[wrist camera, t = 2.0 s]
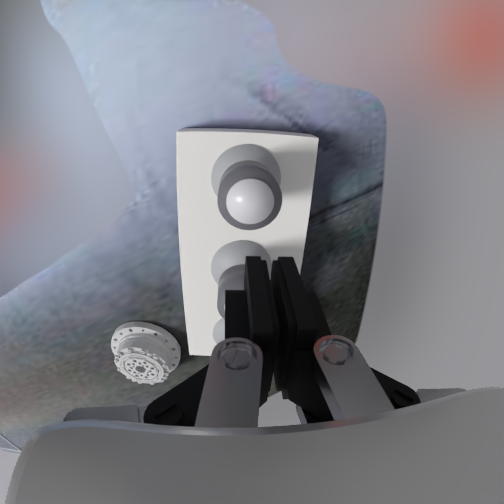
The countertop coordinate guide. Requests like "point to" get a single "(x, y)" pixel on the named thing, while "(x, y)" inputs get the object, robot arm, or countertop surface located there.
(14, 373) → the countertop surface
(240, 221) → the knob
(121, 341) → the mechanical component
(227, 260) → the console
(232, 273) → the knob middle
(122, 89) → the countertop surface
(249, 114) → the countertop surface
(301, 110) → the countertop surface
